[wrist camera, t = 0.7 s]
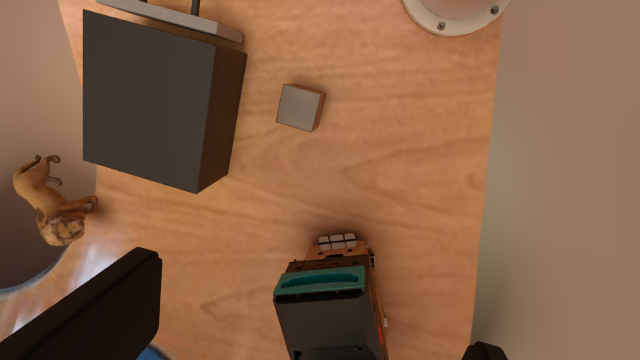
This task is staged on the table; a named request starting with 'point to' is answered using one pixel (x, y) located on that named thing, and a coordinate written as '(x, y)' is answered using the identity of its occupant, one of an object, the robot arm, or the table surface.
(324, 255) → the bill acceptor
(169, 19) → the drawer
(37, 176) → the lion figurine
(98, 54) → the cabinet
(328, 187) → the table surface
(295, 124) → the block
